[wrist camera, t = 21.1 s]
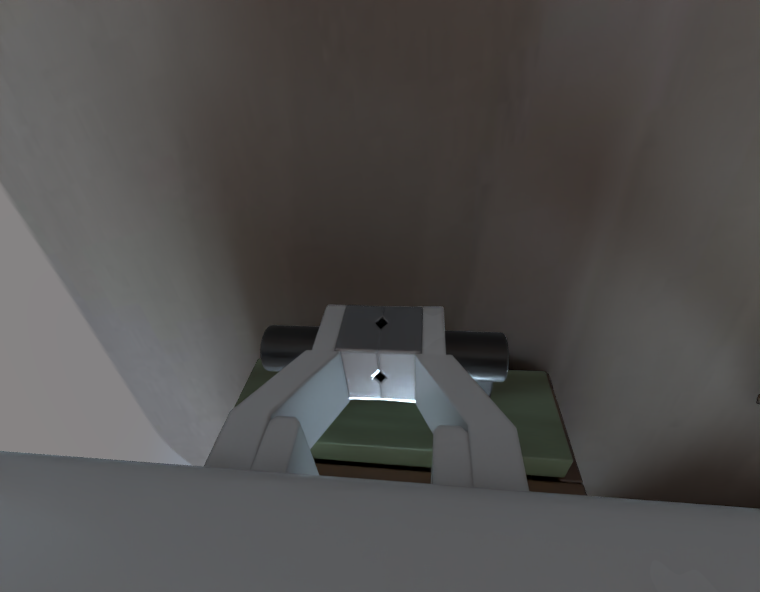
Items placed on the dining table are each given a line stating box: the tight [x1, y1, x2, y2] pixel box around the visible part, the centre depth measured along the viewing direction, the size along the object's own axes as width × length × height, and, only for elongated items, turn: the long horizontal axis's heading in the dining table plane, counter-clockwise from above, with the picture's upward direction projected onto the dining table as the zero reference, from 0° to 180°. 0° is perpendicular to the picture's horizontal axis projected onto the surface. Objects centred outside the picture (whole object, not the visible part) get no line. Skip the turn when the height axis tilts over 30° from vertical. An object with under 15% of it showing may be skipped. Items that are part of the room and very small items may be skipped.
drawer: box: [234, 325, 573, 480], centre depth 17 cm, size 19×12×4 cm, turn 4°
